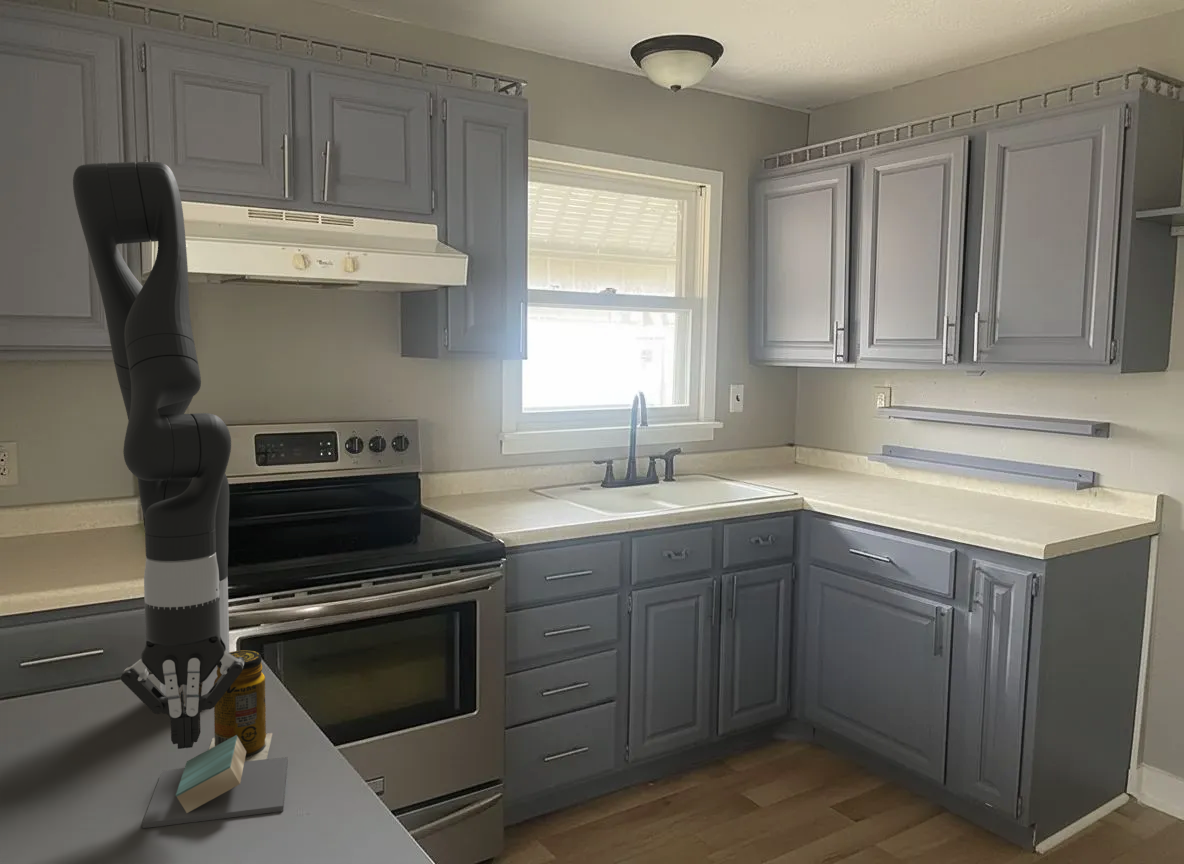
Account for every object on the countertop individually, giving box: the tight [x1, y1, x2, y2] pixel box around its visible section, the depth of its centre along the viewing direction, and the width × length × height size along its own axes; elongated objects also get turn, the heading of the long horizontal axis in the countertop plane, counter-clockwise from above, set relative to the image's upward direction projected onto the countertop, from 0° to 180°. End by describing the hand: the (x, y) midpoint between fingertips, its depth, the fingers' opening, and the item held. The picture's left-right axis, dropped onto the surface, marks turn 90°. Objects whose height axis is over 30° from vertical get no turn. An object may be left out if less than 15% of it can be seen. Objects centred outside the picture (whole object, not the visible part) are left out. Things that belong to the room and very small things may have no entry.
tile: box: [176, 735, 246, 813], centre depth 100 cm, size 2×6×8 cm
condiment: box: [208, 649, 273, 762], centre depth 112 cm, size 7×8×12 cm
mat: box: [142, 756, 289, 829], centre depth 102 cm, size 12×14×1 cm
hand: (186, 745), depth 100 cm, fingers closed
